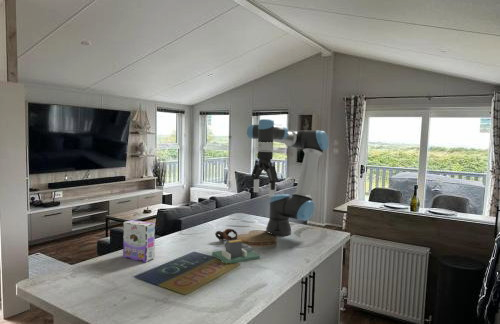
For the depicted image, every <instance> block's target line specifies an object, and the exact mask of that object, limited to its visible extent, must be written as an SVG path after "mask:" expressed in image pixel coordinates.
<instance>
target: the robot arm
mask: <svg viewBox="0 0 500 324" xmlns="http://www.w3.org/2000/svg"><path fill="white" fill-rule="evenodd" d="M246 135H247V137H248V138H249V139H253V140H257V150H258V151H257V155H256V158H257V159H255V161H254V167H253V169H252V173H251V176H250V177H251V178H253V193H259V192H260V176H261V175H262V173H263V171H265V172H266V174H267V178H268V181H269V182H268V197H269V198H270V199H269V218H268V222H267V225H266V228H265V232H266V231H267V232H270V233H272V234H274V235H273V236H275V235H276V236H278V237H285V236H290V235H291V234H292V228H291V223H290V219H294V220H298V221H308V220H310V218H312V216H313V215H314V212H315V203H314V201H313V197H312V196H311V195H312V189H313V185H314V181H315V177H316V172H317V168H318V163H319V159H320V157H321V156H323V153H324V151H327V150H328V148H329V137H328V135H327V132H326V131H324V130H318V129H317V130H307V129H306V130H304V129H303V130H292V129H290V130H289V128H288V126H286V125H284V124H283V125H282V124H275V121H274V120H273V119H269V118H268V119H266V118H265V119H259V121H258V124H255V123H254V124H250V125H249V126H248V127H247V129H246ZM274 143H279V144H284V145H285V146H288V147H292V148H296V149H298V150H302V151H303V153H304V154H303V155H304V156H303V159H302V164H301V168H300V173H299V177H298V181H297V185H296V189H295V192H293V193H292V195H290V194H289V193H281V194H275V189H276V183H279V178H278V173H277V170H276V163H275V162H274V161H272V160H273V158H274V157H273V156H274V153H273V151H274Z"/></svg>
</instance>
